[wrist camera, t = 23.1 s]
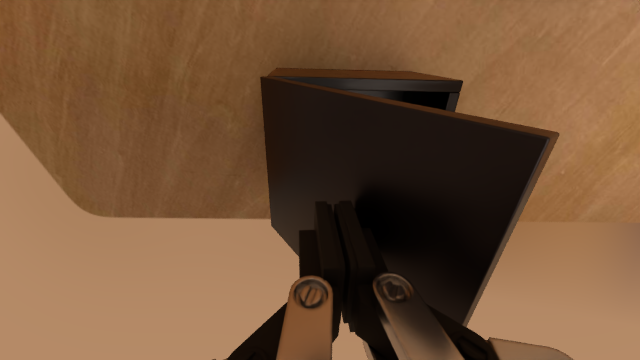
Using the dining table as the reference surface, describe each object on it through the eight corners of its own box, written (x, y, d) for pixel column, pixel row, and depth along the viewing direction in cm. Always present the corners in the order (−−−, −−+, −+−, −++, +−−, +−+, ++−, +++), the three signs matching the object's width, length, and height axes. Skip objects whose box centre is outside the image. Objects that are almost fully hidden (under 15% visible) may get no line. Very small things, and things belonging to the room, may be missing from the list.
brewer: (411, 71, 25) (463, 80, 17) (392, 174, 30) (426, 216, 23) (275, 67, 24) (266, 75, 16) (281, 175, 29) (275, 221, 21)
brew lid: (561, 132, 6) (550, 138, 5) (436, 388, 11) (426, 401, 11) (271, 76, 16) (260, 76, 15) (279, 222, 21) (271, 225, 21)
